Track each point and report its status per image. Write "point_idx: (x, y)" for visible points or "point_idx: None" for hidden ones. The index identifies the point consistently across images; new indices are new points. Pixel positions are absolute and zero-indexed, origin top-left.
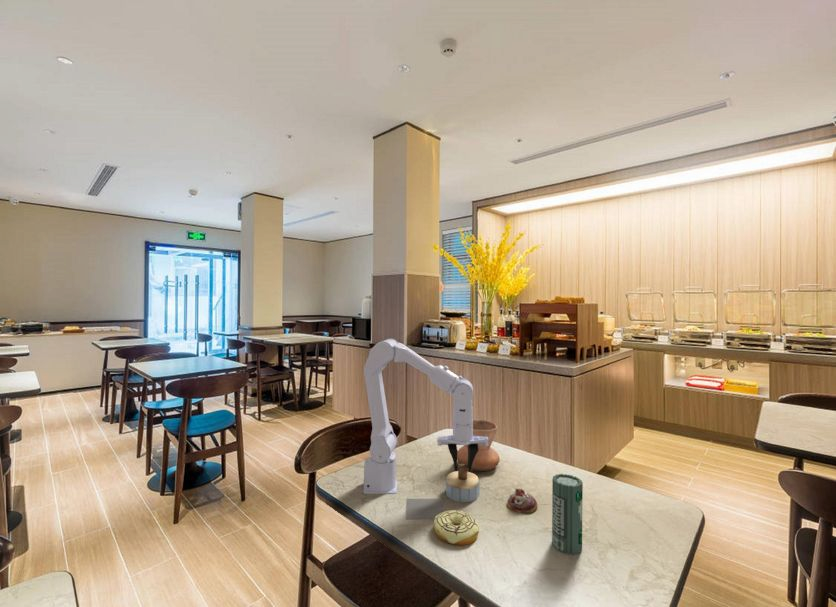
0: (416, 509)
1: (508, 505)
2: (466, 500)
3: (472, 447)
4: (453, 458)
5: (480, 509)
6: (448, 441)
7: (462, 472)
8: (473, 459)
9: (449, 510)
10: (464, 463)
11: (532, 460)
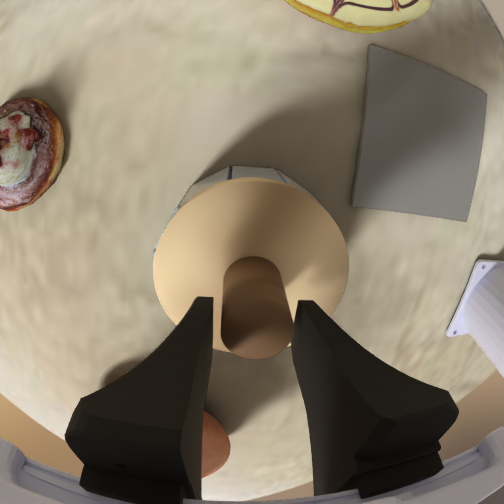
0: (457, 141)
1: (60, 134)
2: (244, 168)
3: (146, 465)
4: (368, 357)
5: (186, 109)
6: (477, 485)
7: (264, 283)
8: (158, 349)
9: (375, 14)
10: (206, 419)
11: (25, 402)
